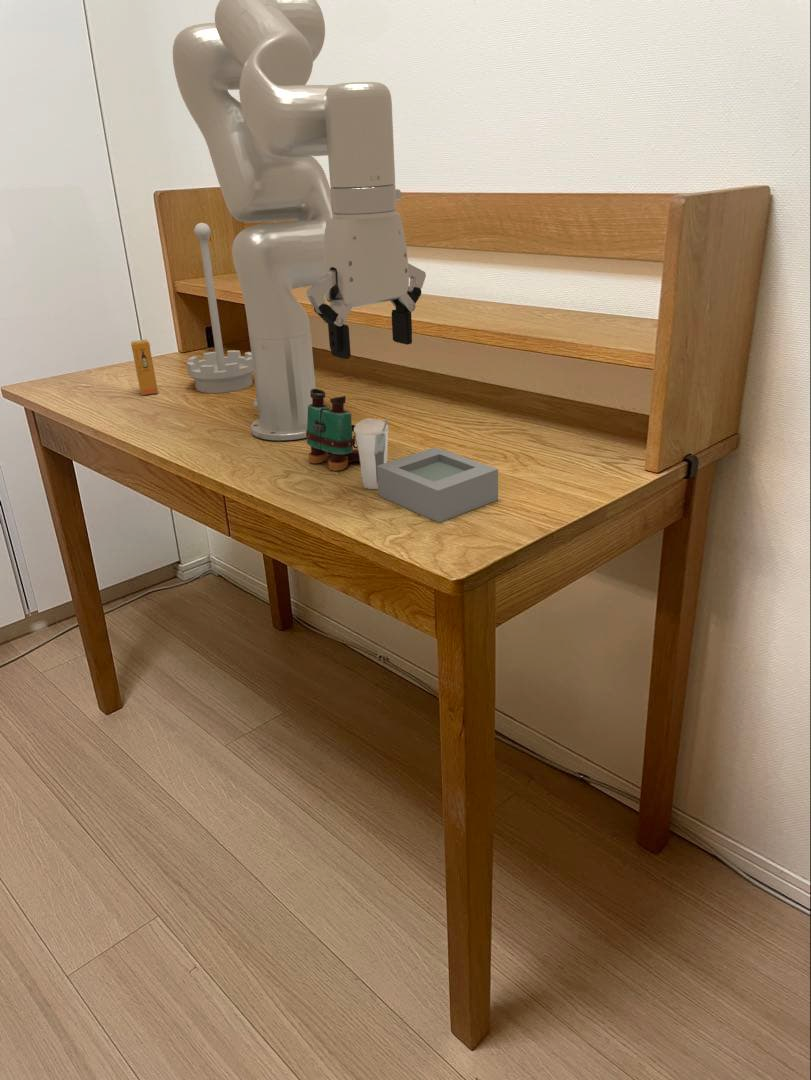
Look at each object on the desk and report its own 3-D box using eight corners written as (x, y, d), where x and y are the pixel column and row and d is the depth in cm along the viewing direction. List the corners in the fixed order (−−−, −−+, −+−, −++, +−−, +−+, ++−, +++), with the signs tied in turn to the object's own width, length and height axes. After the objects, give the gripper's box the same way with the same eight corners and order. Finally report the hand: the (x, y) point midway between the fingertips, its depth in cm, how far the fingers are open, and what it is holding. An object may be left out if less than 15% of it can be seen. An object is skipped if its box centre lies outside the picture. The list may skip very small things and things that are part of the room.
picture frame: (378, 495, 110) (376, 465, 109) (436, 475, 116) (435, 447, 114) (439, 522, 102) (438, 490, 100) (498, 499, 107) (498, 469, 106)
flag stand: (257, 391, 160) (237, 223, 147) (188, 397, 159) (160, 228, 146) (257, 374, 172) (238, 217, 159) (193, 379, 170) (168, 222, 158)
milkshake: (379, 495, 111) (375, 422, 106) (351, 486, 114) (345, 415, 110) (403, 484, 114) (399, 413, 109) (374, 476, 117) (369, 406, 113)
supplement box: (157, 389, 164) (148, 338, 160) (158, 394, 161) (149, 341, 157) (139, 391, 164) (130, 340, 159) (140, 396, 161) (131, 343, 156)
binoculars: (388, 391, 120) (334, 400, 114) (387, 462, 124) (334, 475, 118) (347, 381, 126) (294, 389, 120) (347, 449, 130) (295, 461, 123)
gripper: (401, 196, 106) (406, 333, 113) (283, 208, 96) (298, 357, 103) (440, 198, 100) (444, 342, 108) (320, 210, 91) (333, 368, 98)
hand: (372, 349), depth 105 cm, fingers open, 9 cm apart
